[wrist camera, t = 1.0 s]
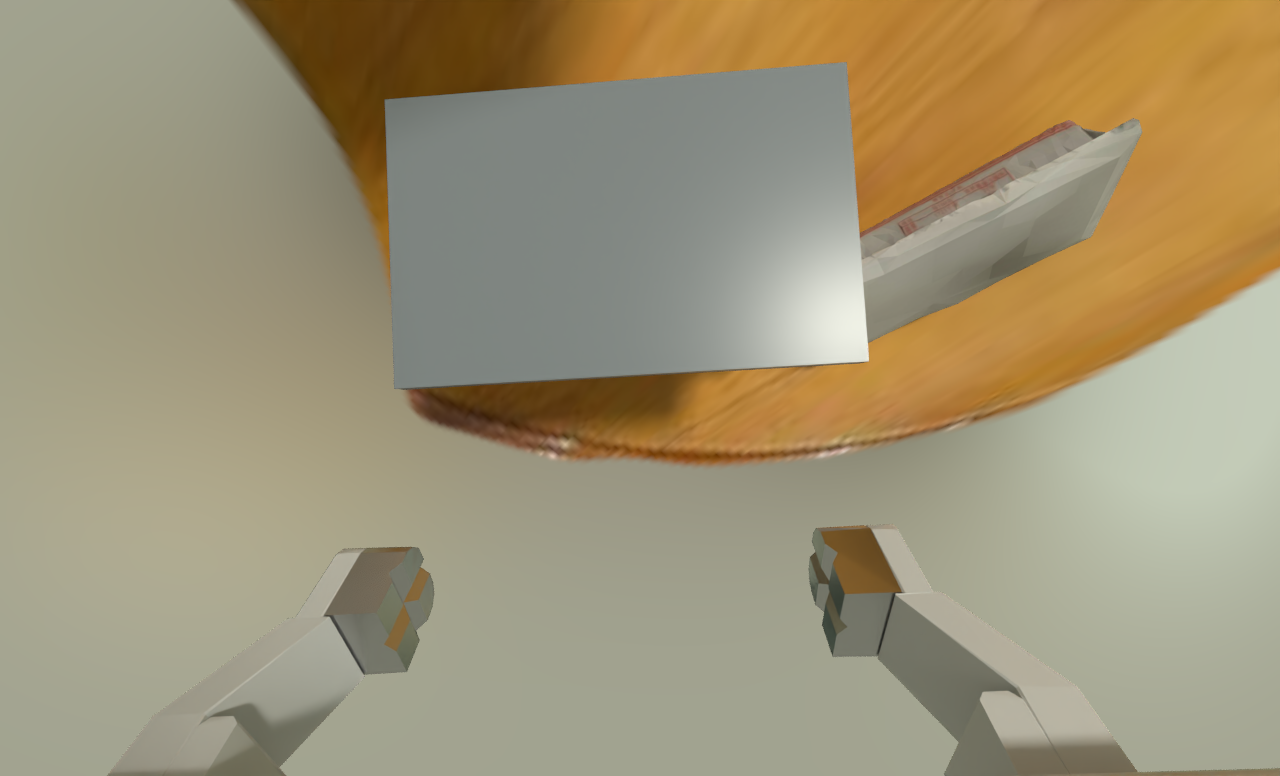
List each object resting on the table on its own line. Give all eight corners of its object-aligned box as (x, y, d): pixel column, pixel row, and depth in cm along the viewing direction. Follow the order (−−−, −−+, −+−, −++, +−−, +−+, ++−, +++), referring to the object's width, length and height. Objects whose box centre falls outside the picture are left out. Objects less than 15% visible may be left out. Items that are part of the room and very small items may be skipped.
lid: (395, 111, 26) (384, 99, 25) (839, 76, 25) (846, 62, 24) (404, 389, 26) (394, 388, 25) (860, 363, 25) (868, 361, 24)
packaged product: (1049, 191, 37) (1089, 76, 29) (1096, 240, 35) (1154, 130, 27) (809, 312, 42) (784, 244, 34) (837, 362, 40) (817, 301, 32)
